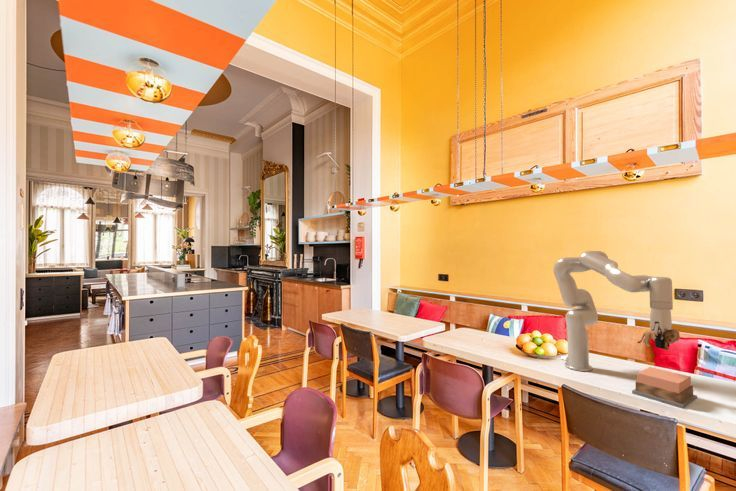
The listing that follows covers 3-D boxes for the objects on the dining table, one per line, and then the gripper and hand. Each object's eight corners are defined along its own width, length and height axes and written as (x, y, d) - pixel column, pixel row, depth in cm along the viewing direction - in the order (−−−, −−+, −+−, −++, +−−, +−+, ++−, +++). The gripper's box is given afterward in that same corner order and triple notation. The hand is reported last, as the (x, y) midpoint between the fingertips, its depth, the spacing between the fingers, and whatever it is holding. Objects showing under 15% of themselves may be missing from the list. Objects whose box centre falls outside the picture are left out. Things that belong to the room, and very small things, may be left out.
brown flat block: (635, 390, 147) (635, 381, 147) (649, 383, 155) (649, 374, 155) (680, 404, 134) (680, 394, 134) (693, 395, 142) (692, 385, 142)
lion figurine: (681, 350, 142) (681, 329, 142) (678, 352, 139) (678, 331, 139) (638, 343, 154) (638, 323, 154) (635, 344, 150) (634, 325, 151)
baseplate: (632, 393, 147) (632, 390, 147) (647, 384, 156) (647, 382, 156) (683, 408, 133) (683, 405, 133) (697, 398, 141) (697, 395, 141)
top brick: (637, 381, 147) (637, 372, 147) (650, 375, 154) (650, 366, 154) (679, 393, 135) (678, 383, 135) (691, 385, 142) (690, 376, 142)
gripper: (657, 302, 153) (658, 342, 152) (642, 305, 144) (643, 348, 144) (679, 304, 146) (680, 346, 146) (664, 308, 138) (665, 352, 137)
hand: (662, 346), depth 145 cm, fingers closed on lion figurine, 4 cm apart
